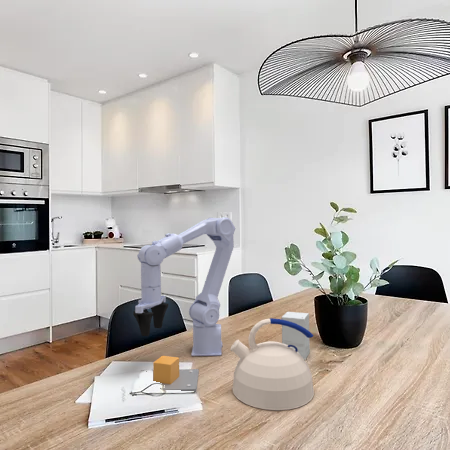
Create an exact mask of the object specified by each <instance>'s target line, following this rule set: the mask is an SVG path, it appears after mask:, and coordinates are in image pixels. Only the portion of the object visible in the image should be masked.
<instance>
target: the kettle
mask: <svg viewBox="0 0 450 450" xmlns="http://www.w3.org/2000/svg"><path fill="white" fill-rule="evenodd" d="M270 324H271V325H281V326H282V325H284V326H288V327H291V328H293V329H296V330H298V331H300V332H301V333H303V334H304V335H305V336H306V337H307V338H309V339H310V338H311V339H312V338H313V337H314V334H313V333H312V332H311V331H310V330H309V331H308V330H307V329H305V328H304V327H302V326H300V325H298V324H296V323H293V322H290V321H286V320H282V319H281V318H275V317H274V318H273V317H272V318H271V317H270V318H269V317H268V318H266V319H262V320H260V321H258V322H257V323H256V324H254V326H253V327H252V328H251V329H250V332H249V335H248V341H247V342H248V346H247V345H245V344H244V343H243V342H241V341H240V339H236V340H235V341H234V342H233V343H232V345H231V347H230V351H231V352H232V353H234V355H236V356H237V357H238V358H239V359H238V361H237V363H236V366H235V369H234V371H233V381H232V388H231V389H232V393H233V395H234V396H235V397H236V398H237V400H239V401H240V402H242V403H243V404H245V405H247V406H250V407H253V408H256V409H260V410H261V409H262V410H267V411H286V410H287V411H290V410H293V409H297V408H301V407H302V406H305V405H307V404H308V403H309V402H310V401H311V400H313V398H314V395H315V391H314V384H313V383H314V382H313V375H312V372H311V369H310V366H309V364H308V362H307V361H306V359H305V360H304V359H303V358H302V356H301V355H300V354H299V353H298V352H297V351H298V349H297V348H296V347H295V346H294V345H286V344H283V343H282V342H280V341H279V342H278V341H273V340H272V341H264V342H260V343H256V334H257V333H258V331H259V330H260V329H261V328H262V327H264V326H266V325H270ZM292 347H294V348H295V350H294V349H293V348H292Z"/></svg>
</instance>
